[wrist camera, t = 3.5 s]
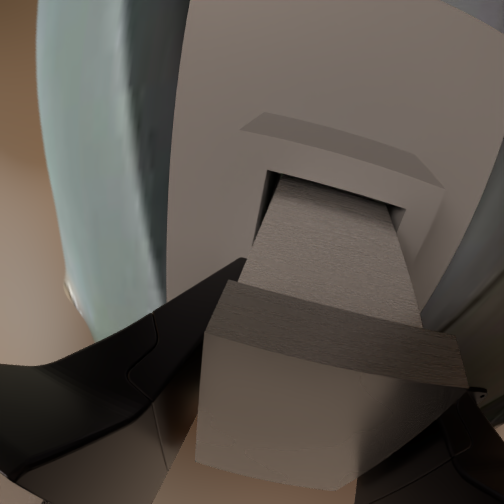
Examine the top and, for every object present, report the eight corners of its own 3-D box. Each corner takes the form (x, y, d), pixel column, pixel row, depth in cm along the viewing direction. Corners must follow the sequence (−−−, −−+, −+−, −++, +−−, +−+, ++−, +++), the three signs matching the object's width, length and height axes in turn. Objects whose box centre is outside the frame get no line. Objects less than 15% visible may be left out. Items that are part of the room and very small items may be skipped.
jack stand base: (508, 48, 8) (579, 52, 4) (378, 355, 20) (380, 425, 15) (212, -38, 10) (154, -77, 5) (176, 302, 21) (139, 364, 16)
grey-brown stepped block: (385, 167, 11) (471, 388, 3) (345, 273, 14) (336, 490, 6) (291, 140, 11) (200, 331, 3) (266, 252, 14) (193, 461, 6)
